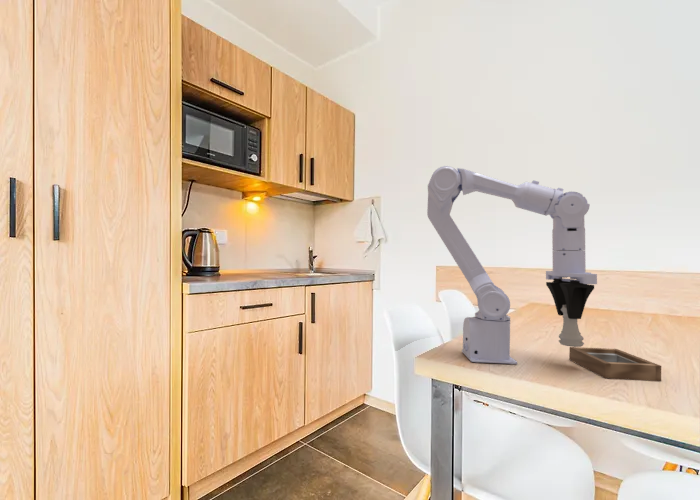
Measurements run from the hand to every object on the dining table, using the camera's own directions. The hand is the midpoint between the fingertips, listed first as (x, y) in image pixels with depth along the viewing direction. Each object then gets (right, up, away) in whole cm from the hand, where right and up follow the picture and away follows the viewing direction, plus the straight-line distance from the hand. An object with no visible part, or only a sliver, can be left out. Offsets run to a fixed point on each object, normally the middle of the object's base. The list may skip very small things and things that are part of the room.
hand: (569, 317), depth 70 cm
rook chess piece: (0, -6, 0) cm, 6 cm away
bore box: (+8, -11, -1) cm, 13 cm away
